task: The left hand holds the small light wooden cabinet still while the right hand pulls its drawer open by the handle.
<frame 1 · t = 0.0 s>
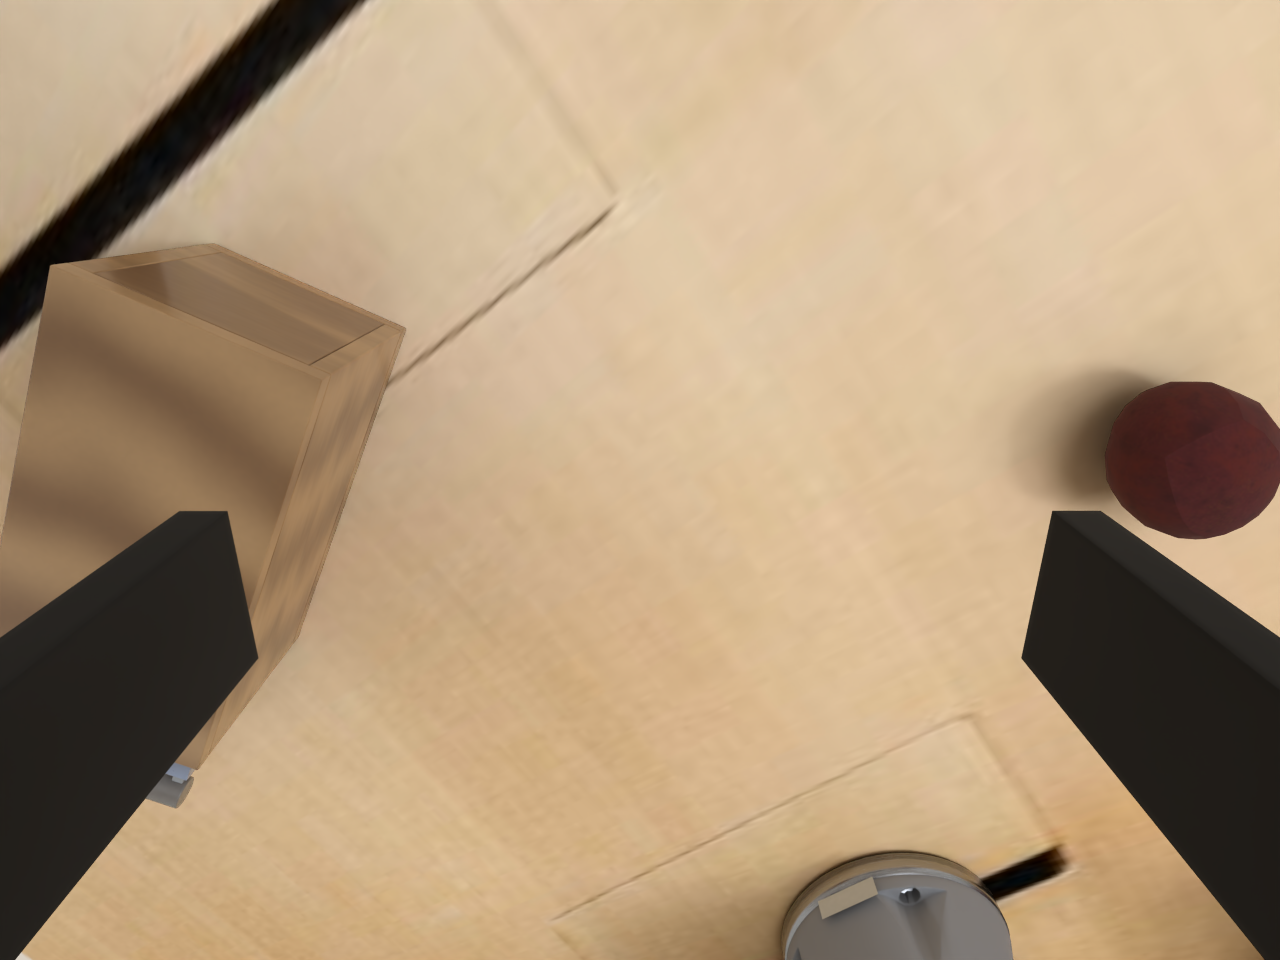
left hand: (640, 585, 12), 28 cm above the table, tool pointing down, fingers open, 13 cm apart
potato: (1144, 434, 41), on the table
drawer: (179, 591, 38), point 6 cm above the table, slide at 0.7 cm
cabinet: (260, 459, 41), on the table
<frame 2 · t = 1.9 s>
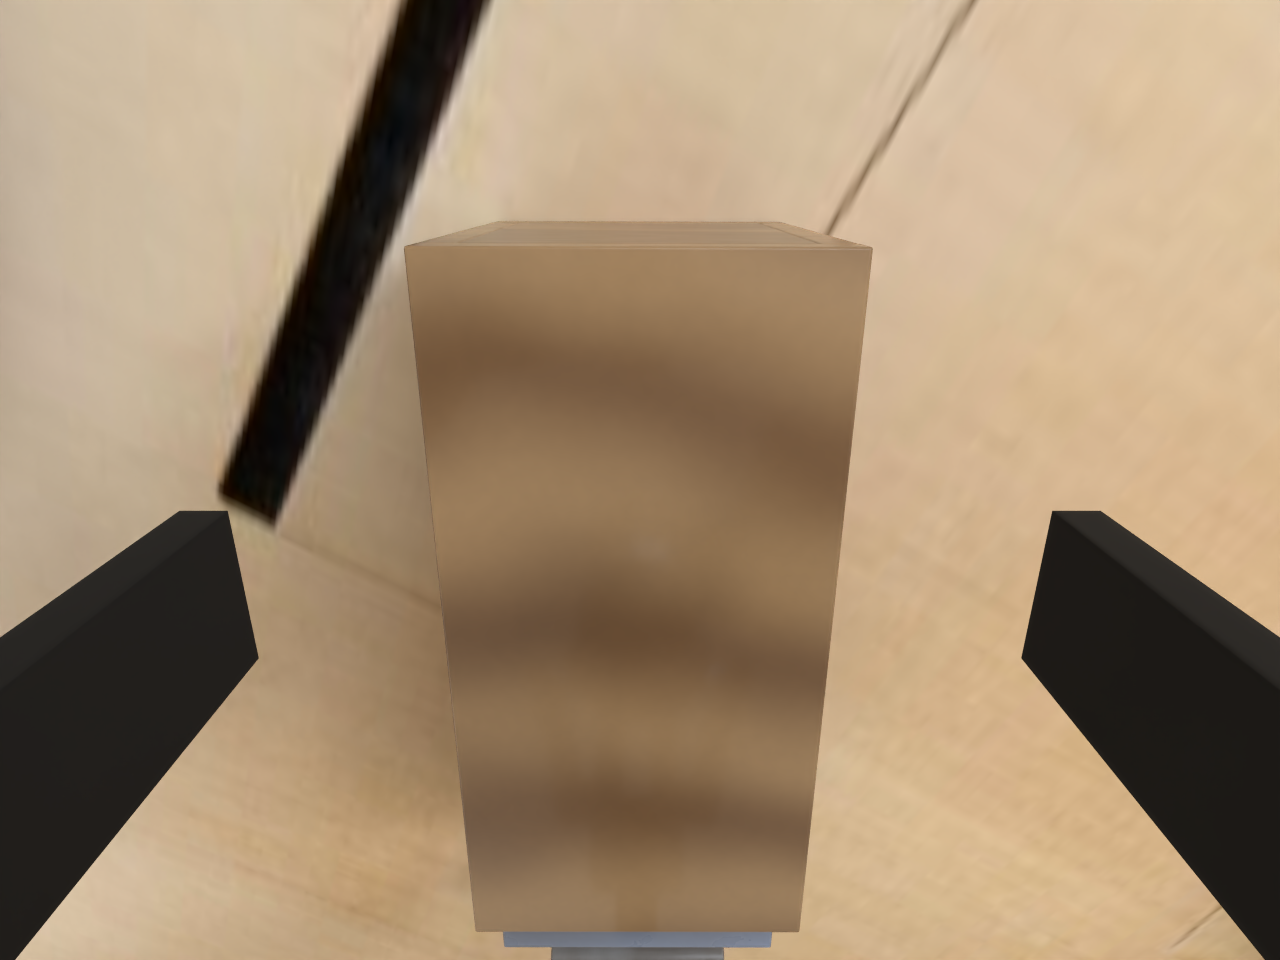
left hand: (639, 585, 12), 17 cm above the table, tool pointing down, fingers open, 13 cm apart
drawer: (638, 695, 27), point 6 cm above the table, slide at 0.7 cm
cabinet: (638, 491, 30), on the table
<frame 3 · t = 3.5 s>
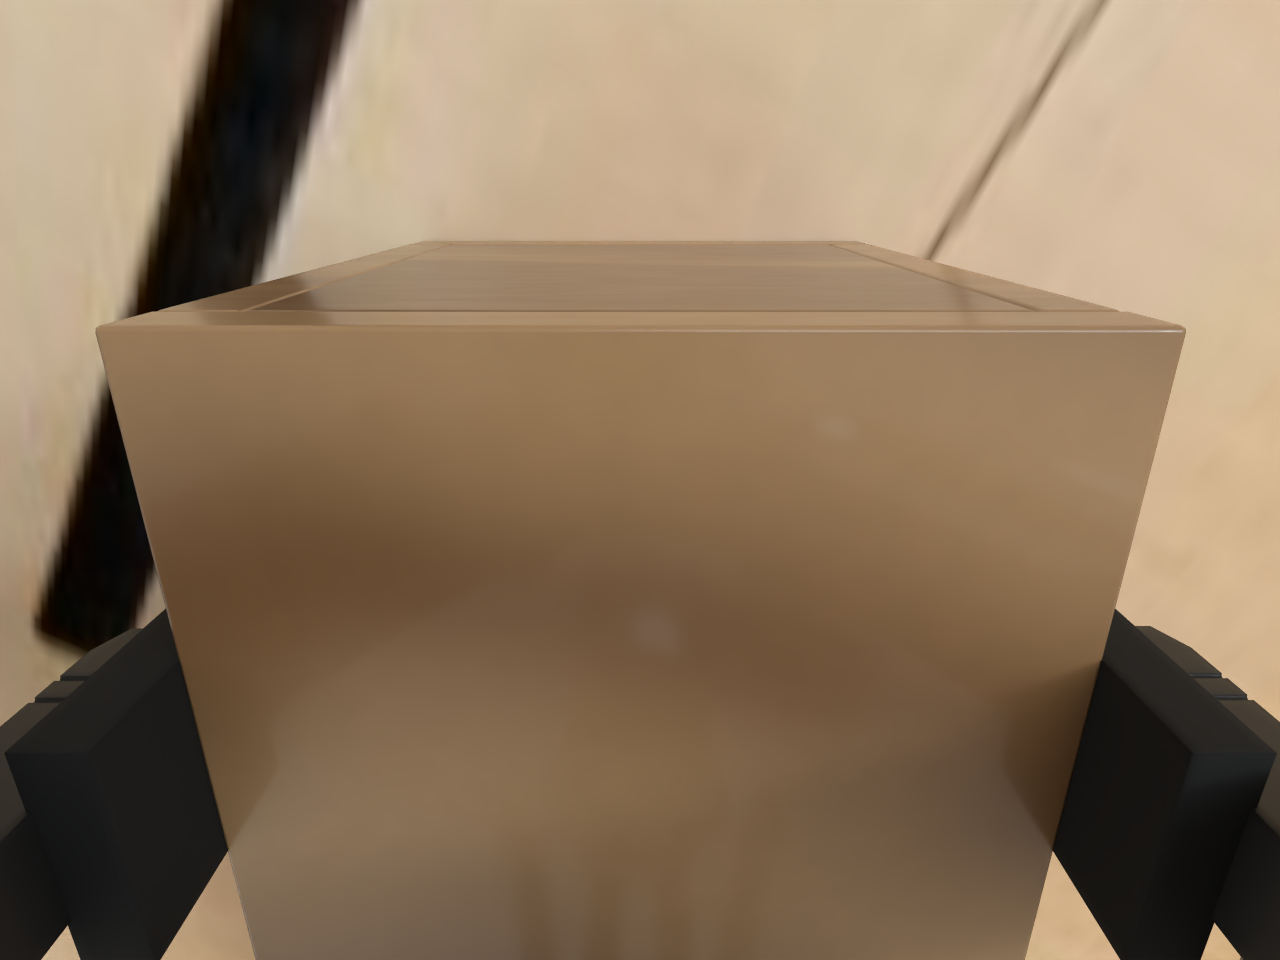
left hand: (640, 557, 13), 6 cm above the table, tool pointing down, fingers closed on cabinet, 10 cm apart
cabinet: (639, 626, 21), on the table, touching left hand
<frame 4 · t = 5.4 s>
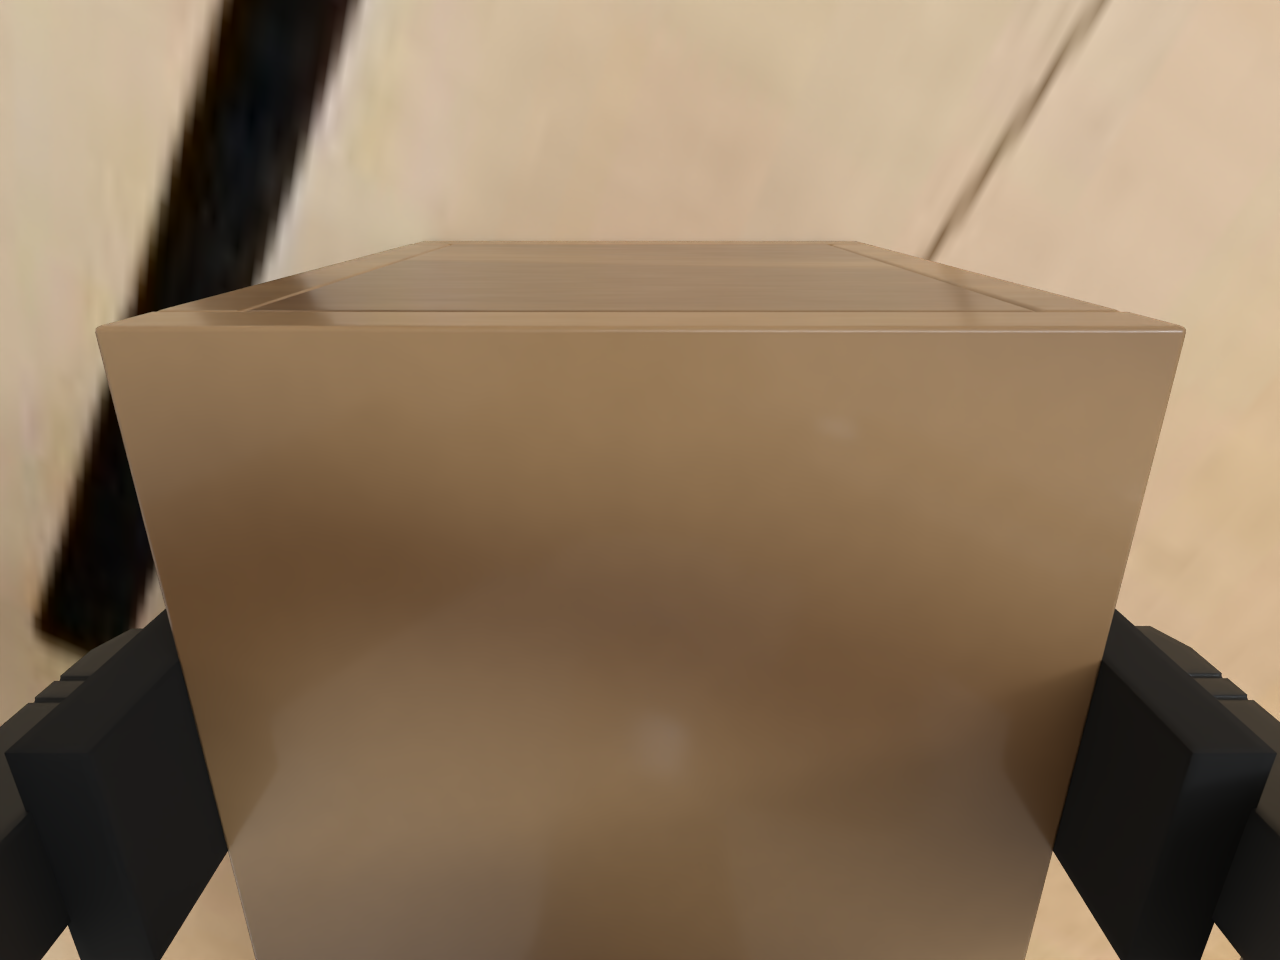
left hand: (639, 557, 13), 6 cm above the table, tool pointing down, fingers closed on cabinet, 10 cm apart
cabinet: (639, 626, 21), on the table, touching left hand
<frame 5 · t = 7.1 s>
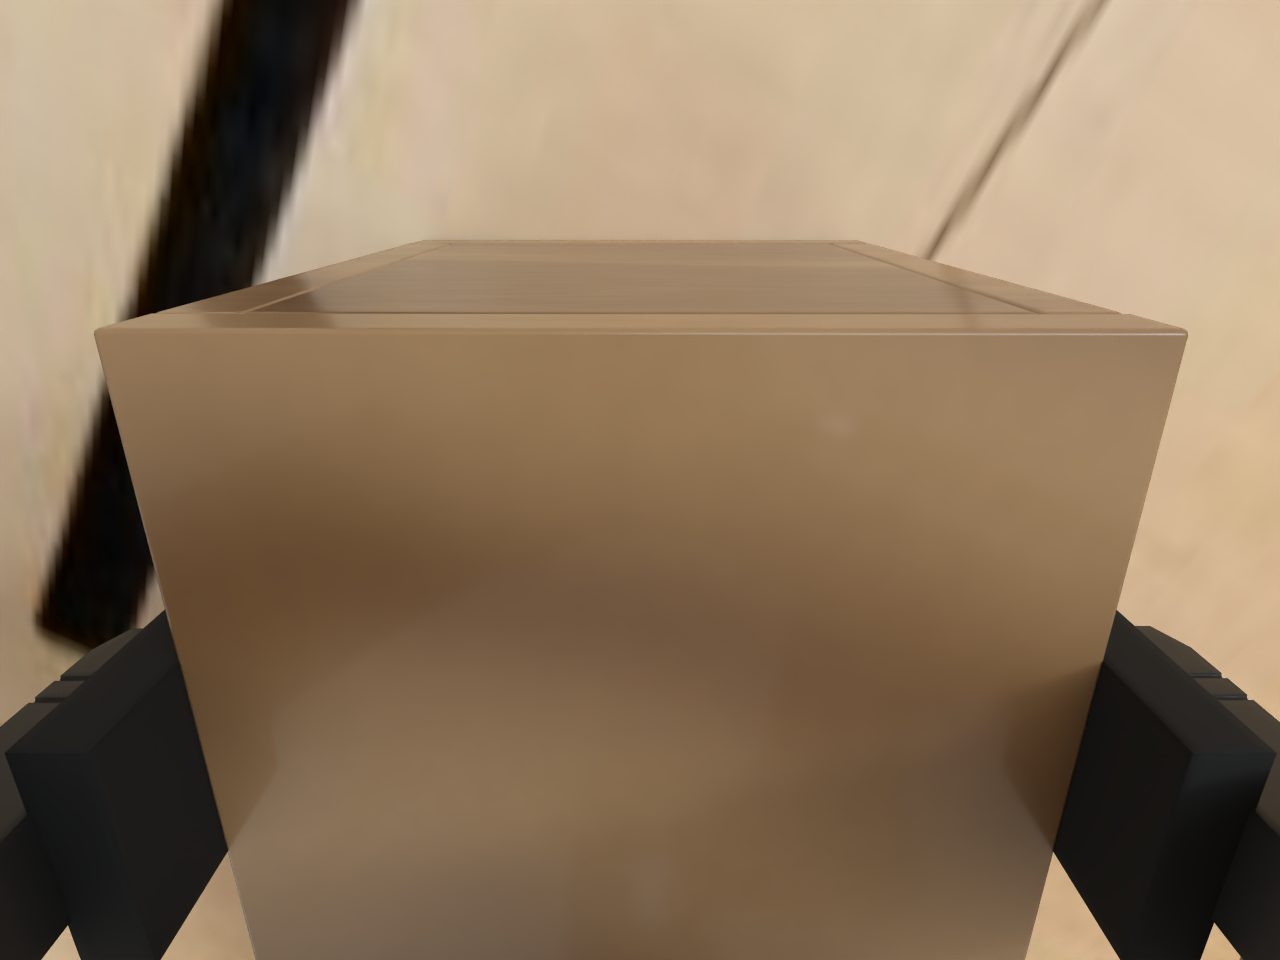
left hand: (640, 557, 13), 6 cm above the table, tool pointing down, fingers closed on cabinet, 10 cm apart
cabinet: (640, 625, 21), on the table, touching left hand
when the left hand's fingers open (6 cm above the table, at t = 8.8 s): cabinet stays where it is, on the table.
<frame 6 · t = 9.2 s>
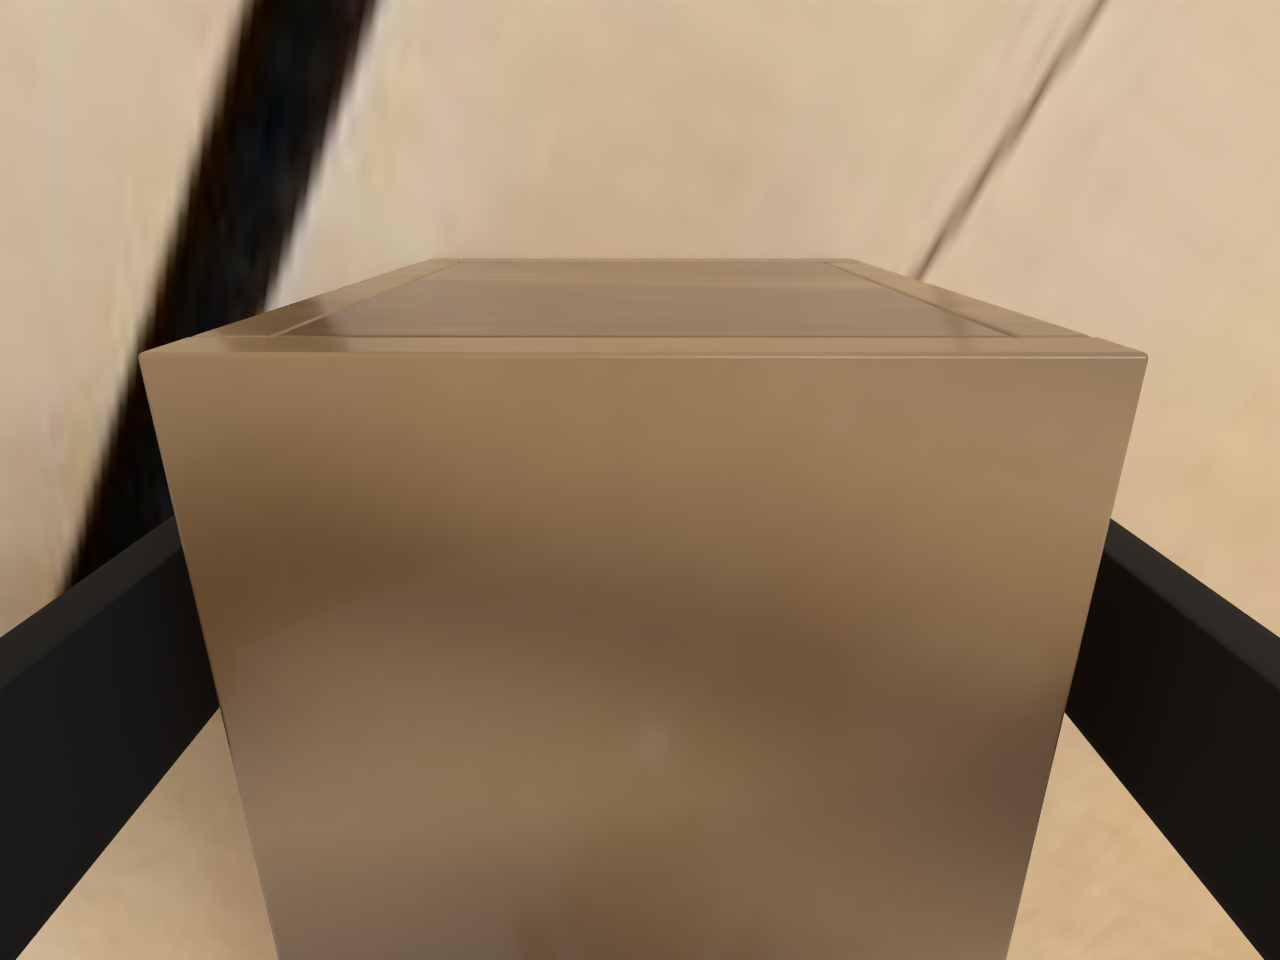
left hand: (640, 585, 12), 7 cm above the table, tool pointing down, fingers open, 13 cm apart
cabinet: (641, 631, 21), on the table
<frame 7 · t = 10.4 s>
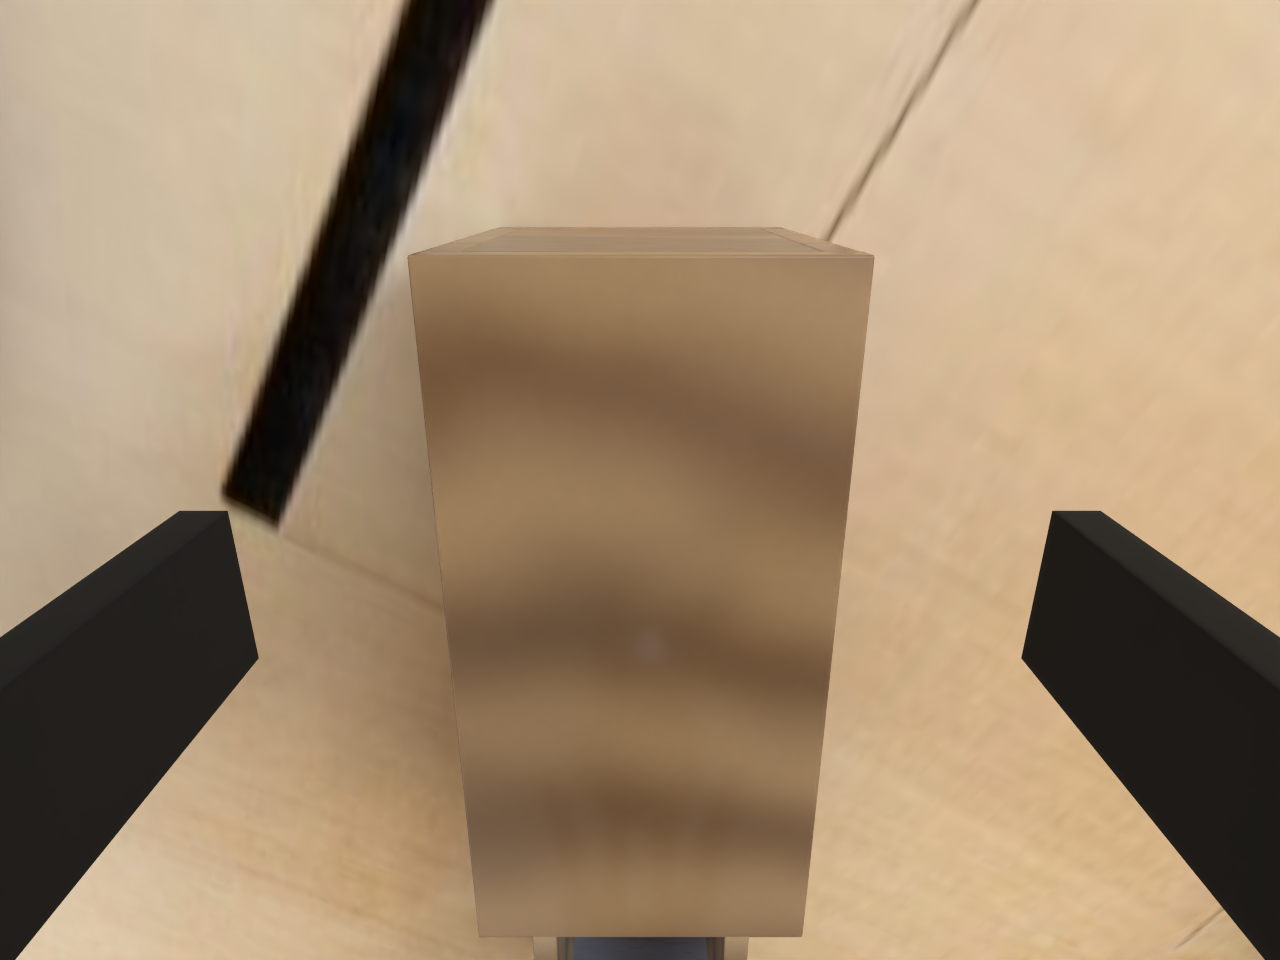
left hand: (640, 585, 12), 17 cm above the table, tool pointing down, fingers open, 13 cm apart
drawer: (640, 886, 30), point 6 cm above the table, slide at 9.5 cm
cabinet: (640, 495, 30), on the table
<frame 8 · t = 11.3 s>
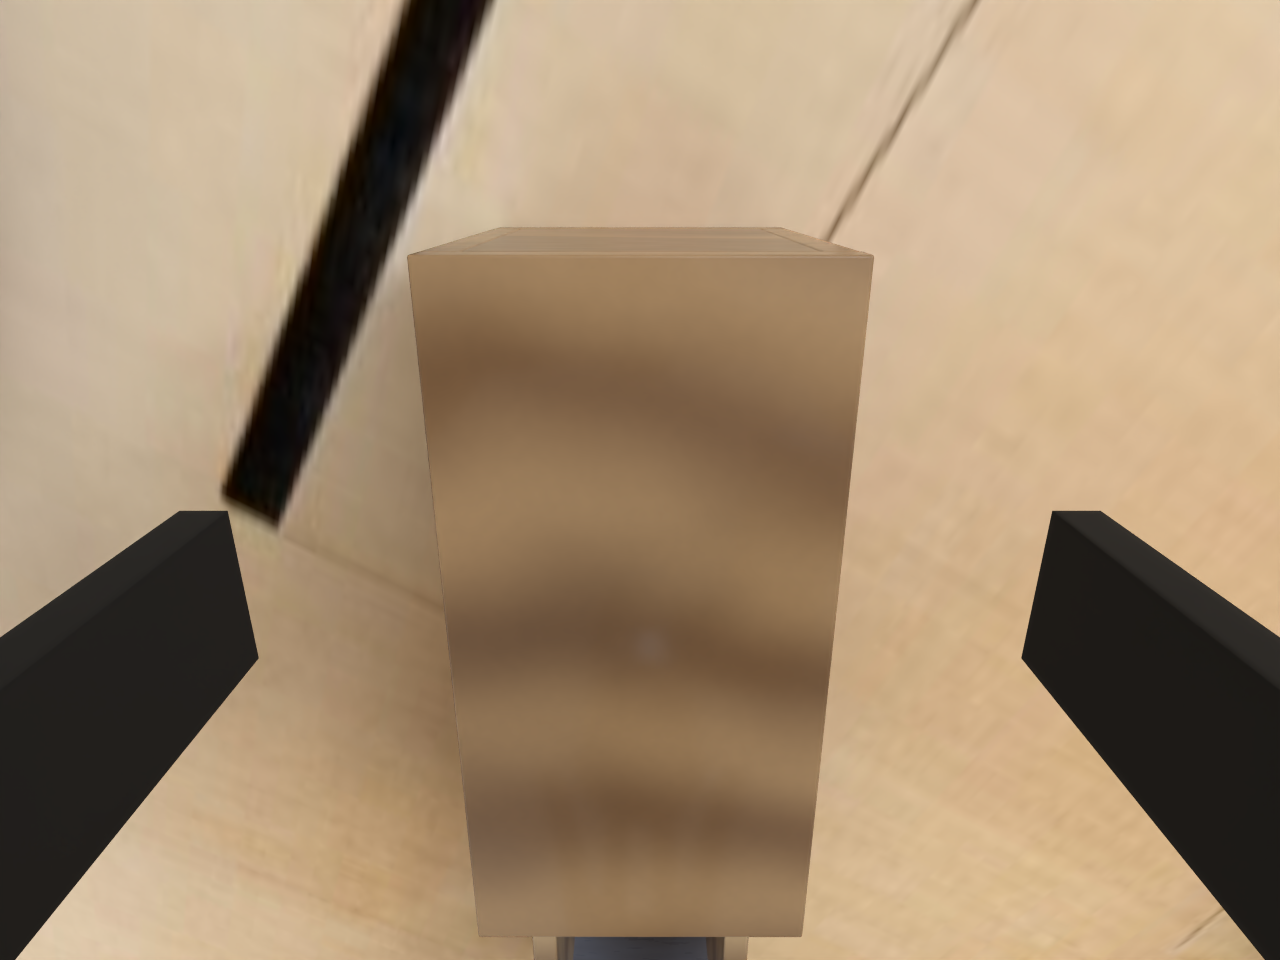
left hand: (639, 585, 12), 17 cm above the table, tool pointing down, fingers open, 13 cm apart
drawer: (640, 886, 30), point 6 cm above the table, slide at 9.5 cm
cabinet: (640, 495, 30), on the table
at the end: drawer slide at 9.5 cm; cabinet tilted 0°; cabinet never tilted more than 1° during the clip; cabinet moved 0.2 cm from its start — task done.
